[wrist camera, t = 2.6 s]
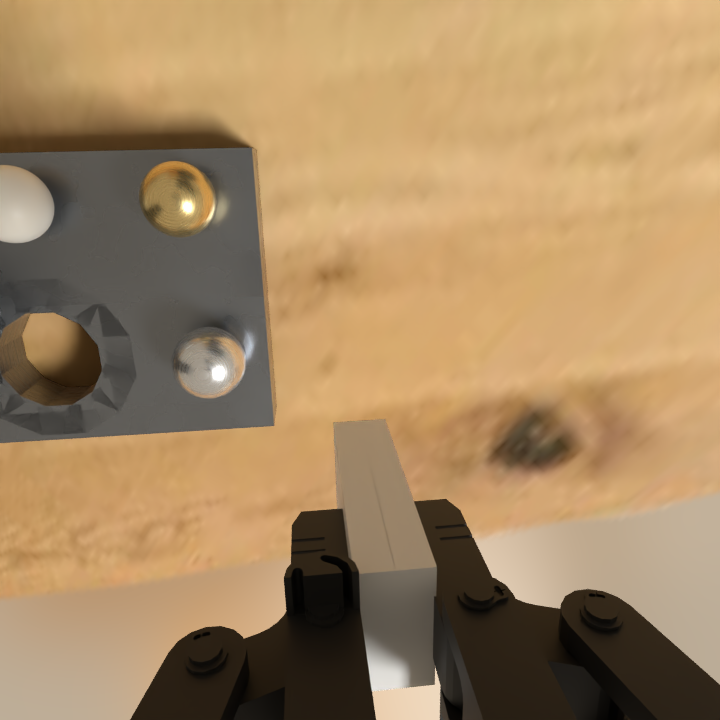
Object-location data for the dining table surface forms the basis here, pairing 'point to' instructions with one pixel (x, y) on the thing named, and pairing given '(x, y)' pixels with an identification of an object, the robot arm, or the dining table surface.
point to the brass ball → (177, 199)
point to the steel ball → (208, 362)
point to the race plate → (135, 297)
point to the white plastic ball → (23, 205)
